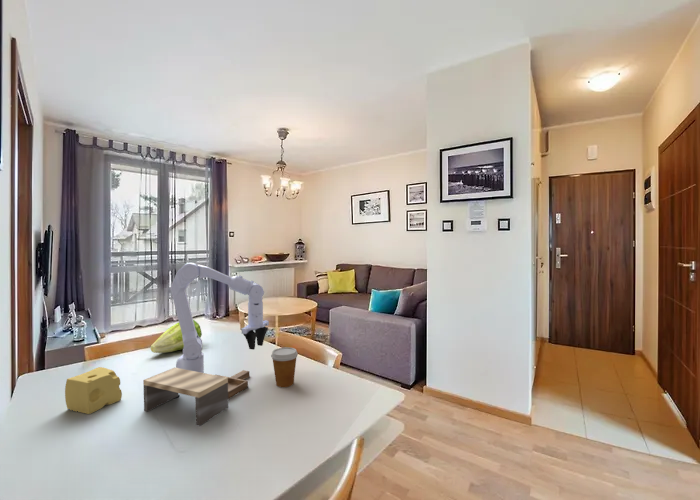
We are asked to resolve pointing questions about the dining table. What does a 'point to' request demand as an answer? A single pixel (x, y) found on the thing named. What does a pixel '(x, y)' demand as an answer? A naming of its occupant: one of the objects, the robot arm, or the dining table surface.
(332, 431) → the dining table surface
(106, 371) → the cheese
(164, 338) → the lettuce
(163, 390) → the counter shelf
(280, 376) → the disposable coffee cup
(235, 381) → the tray
